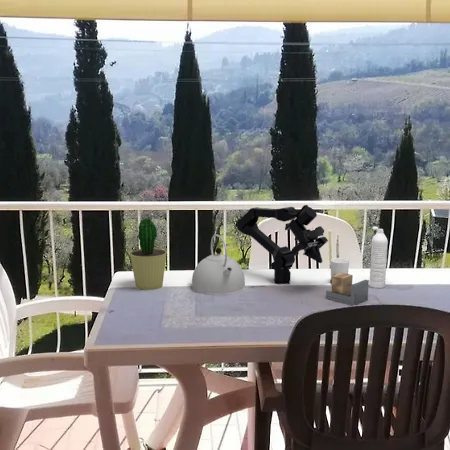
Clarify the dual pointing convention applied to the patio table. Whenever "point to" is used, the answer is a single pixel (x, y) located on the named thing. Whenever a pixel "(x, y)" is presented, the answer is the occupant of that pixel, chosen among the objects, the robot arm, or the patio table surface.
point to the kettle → (218, 274)
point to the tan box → (342, 283)
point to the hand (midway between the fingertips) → (321, 262)
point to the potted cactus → (148, 258)
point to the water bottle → (378, 259)
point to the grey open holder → (357, 294)
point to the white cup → (339, 266)
